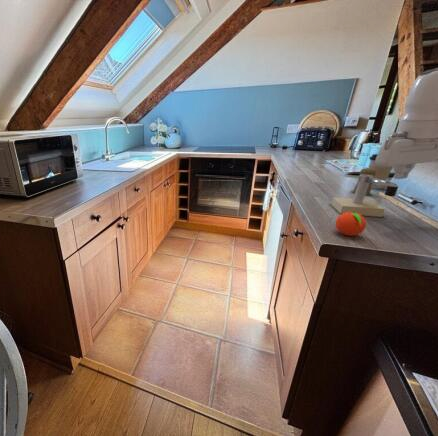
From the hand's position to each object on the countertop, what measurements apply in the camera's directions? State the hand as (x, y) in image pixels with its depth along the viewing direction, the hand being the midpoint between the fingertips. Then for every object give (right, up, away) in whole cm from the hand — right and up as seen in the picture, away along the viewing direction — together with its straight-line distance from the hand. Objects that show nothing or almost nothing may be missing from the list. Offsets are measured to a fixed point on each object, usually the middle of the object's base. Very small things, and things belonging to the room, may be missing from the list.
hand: (399, 178), depth 75 cm
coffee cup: (+29, +2, +40) cm, 49 cm away
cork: (+16, -1, +32) cm, 36 cm away
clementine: (-19, -18, -4) cm, 26 cm away
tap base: (-2, -9, +14) cm, 17 cm away
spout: (-3, -3, +6) cm, 7 cm away
